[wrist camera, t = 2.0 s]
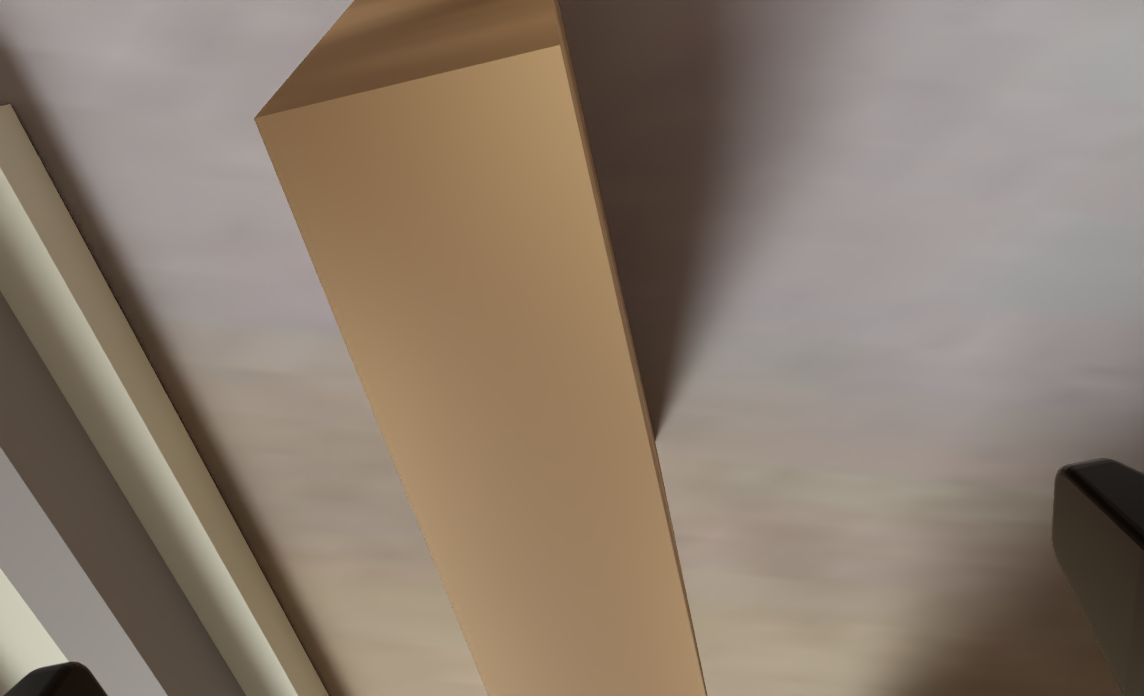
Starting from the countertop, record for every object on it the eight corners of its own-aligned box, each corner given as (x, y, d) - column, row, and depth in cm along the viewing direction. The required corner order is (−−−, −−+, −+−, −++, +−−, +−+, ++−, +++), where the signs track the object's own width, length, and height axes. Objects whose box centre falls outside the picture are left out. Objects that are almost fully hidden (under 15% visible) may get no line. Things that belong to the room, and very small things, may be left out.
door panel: (542, -69, 13) (559, 45, 7) (654, 440, 17) (724, 775, 11) (378, -27, 13) (254, 117, 7) (530, 465, 18) (534, 809, 12)
